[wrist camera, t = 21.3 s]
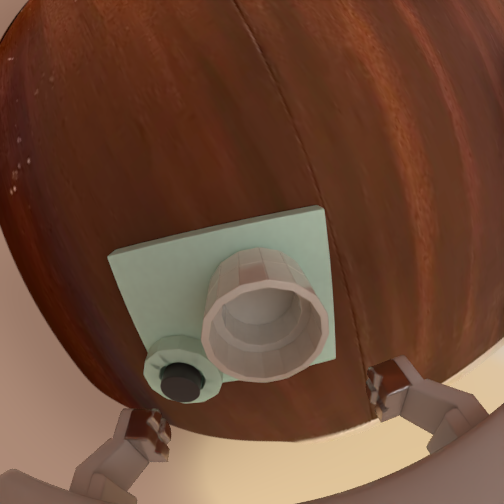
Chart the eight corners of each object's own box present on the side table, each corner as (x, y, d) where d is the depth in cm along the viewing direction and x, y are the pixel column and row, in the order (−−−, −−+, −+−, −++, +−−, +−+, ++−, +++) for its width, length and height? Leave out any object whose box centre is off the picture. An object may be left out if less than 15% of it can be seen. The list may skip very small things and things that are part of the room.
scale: (167, 380, 21) (161, 405, 19) (110, 250, 17) (91, 266, 14) (331, 351, 21) (342, 374, 18) (317, 204, 17) (333, 213, 14)
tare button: (172, 389, 18) (169, 404, 17) (158, 364, 17) (153, 378, 16) (206, 386, 18) (205, 401, 17) (194, 359, 17) (192, 375, 16)
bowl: (222, 338, 18) (220, 390, 14) (197, 256, 16) (184, 296, 12) (309, 320, 18) (330, 367, 14) (298, 235, 16) (324, 267, 12)
